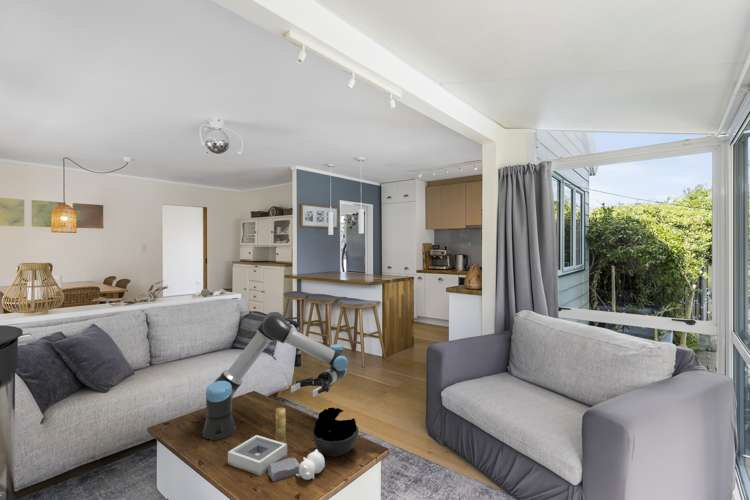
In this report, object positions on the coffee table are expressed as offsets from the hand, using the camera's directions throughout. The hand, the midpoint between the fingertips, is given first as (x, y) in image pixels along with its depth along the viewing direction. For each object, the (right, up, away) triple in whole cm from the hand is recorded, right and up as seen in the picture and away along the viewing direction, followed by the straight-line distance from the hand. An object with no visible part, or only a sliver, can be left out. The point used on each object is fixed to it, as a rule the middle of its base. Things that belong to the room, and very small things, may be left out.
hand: (301, 391), depth 181 cm
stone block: (-1, -20, -33) cm, 39 cm away
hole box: (-14, -19, -25) cm, 34 cm away
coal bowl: (+19, -19, -20) cm, 34 cm away
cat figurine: (+10, -19, -35) cm, 42 cm away
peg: (-7, -19, -12) cm, 24 cm away
